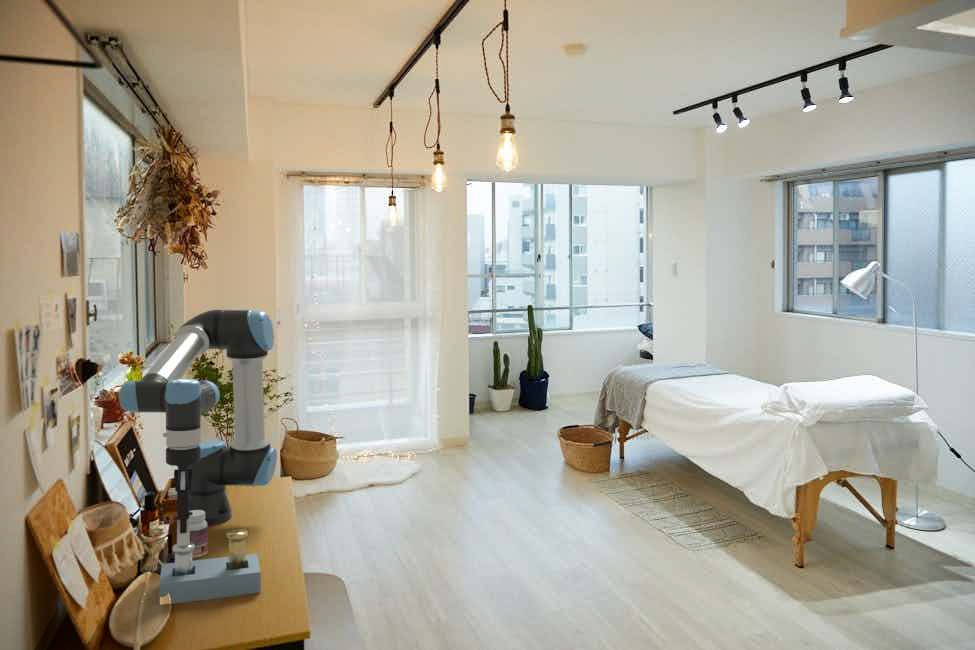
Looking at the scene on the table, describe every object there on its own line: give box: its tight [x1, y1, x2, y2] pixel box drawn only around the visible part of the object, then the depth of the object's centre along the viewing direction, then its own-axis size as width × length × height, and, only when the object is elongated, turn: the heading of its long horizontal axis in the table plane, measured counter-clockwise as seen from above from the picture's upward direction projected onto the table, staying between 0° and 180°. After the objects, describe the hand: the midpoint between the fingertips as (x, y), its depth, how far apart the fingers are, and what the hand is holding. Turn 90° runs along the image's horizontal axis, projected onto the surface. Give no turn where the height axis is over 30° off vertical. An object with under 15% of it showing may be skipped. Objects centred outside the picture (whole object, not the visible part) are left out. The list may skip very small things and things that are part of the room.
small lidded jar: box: [172, 542, 195, 576], centre depth 172 cm, size 5×5×8 cm
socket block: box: [158, 553, 262, 605], centre depth 175 cm, size 12×22×5 cm, turn 111°
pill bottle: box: [189, 510, 209, 559], centre depth 195 cm, size 6×6×11 cm
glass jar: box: [226, 528, 249, 570], centre depth 176 cm, size 5×5×8 cm
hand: (183, 544), depth 172 cm, fingers closed
